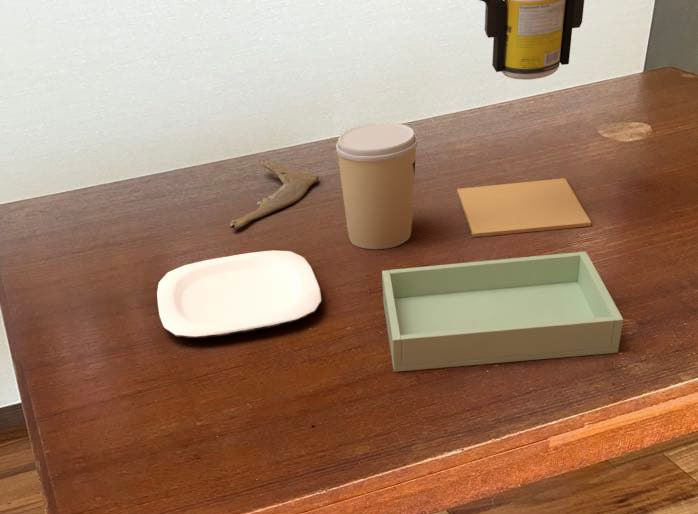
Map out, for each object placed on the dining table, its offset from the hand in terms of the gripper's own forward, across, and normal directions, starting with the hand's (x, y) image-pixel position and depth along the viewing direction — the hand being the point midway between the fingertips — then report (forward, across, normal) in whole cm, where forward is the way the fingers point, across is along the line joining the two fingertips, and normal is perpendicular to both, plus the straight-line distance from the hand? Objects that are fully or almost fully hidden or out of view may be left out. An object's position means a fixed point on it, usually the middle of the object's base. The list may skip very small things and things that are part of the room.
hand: (530, 64), depth 99 cm
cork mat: (+17, 0, -1) cm, 17 cm away
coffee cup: (+17, +18, +3) cm, 25 cm away
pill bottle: (+1, 0, 0) cm, 1 cm away
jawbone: (+17, +34, -12) cm, 40 cm away
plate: (+17, +35, +17) cm, 42 cm away
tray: (+17, +8, +27) cm, 33 cm away
